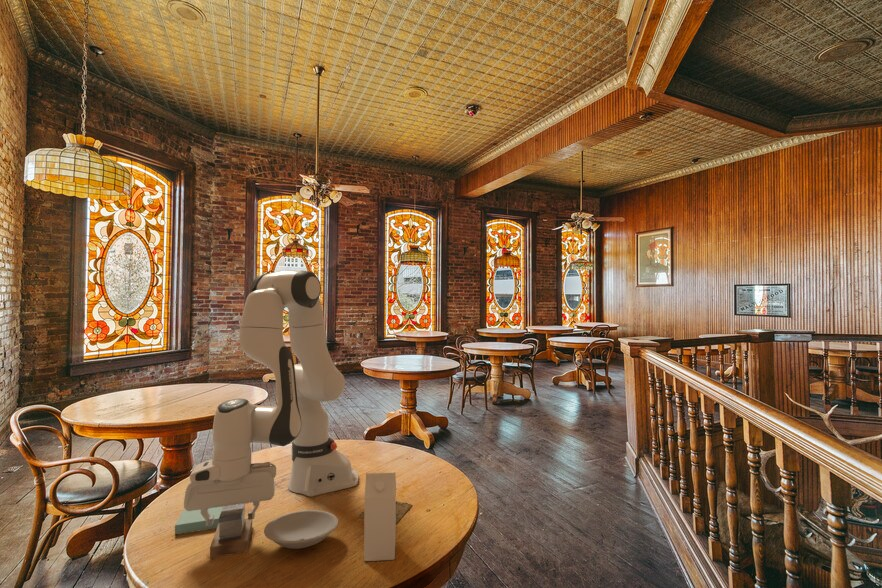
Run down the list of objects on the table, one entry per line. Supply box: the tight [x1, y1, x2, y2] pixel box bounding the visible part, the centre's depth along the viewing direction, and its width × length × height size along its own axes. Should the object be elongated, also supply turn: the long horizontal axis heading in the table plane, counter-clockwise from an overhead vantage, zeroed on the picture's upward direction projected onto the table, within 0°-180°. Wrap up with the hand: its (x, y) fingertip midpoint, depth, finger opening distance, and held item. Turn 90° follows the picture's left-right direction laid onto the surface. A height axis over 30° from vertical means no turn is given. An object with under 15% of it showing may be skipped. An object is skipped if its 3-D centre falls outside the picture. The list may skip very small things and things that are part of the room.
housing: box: [218, 503, 247, 543], centre depth 102 cm, size 5×8×6 cm, turn 19°
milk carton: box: [363, 472, 397, 562], centre depth 98 cm, size 7×7×19 cm
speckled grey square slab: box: [357, 500, 414, 525], centre depth 117 cm, size 12×12×1 cm
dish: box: [263, 509, 339, 550], centre depth 101 cm, size 18×14×5 cm
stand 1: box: [174, 507, 223, 535], centre depth 110 cm, size 11×8×2 cm
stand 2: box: [209, 518, 253, 559], centre depth 102 cm, size 8×11×2 cm
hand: (230, 521), depth 102 cm, fingers open, 8 cm apart
